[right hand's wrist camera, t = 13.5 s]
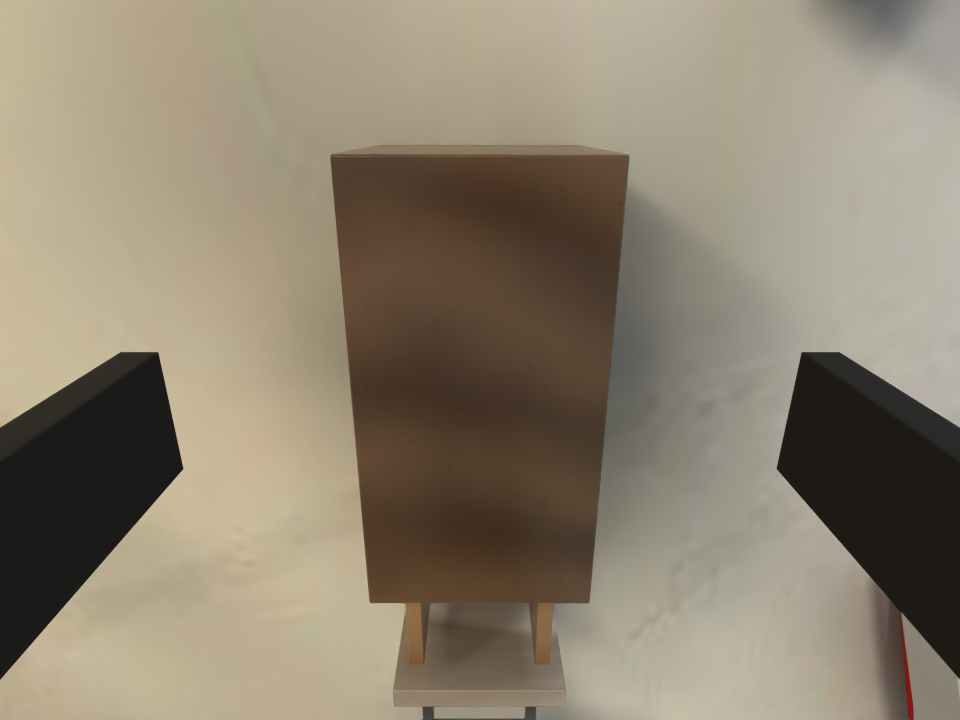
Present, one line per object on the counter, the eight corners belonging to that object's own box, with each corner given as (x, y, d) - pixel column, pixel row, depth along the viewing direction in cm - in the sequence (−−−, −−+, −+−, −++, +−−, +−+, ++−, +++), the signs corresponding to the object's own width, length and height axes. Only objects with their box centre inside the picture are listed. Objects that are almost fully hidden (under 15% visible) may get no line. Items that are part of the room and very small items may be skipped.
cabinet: (561, 481, 37) (589, 604, 28) (397, 481, 37) (369, 603, 28) (582, 145, 30) (630, 154, 20) (377, 145, 30) (329, 154, 20)
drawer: (544, 657, 41) (559, 779, 34) (414, 657, 41) (399, 778, 34) (563, 327, 32) (589, 389, 25) (396, 327, 32) (370, 389, 25)
